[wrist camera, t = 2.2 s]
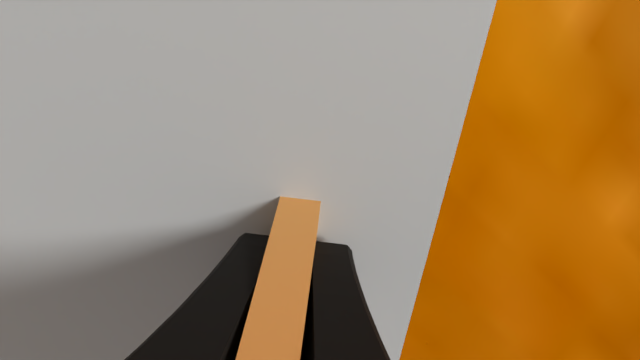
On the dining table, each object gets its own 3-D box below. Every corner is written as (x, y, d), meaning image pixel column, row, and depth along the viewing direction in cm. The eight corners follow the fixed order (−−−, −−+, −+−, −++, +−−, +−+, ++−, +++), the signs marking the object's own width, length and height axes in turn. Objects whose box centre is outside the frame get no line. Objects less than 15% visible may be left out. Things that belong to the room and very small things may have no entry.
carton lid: (369, 450, 14) (373, 655, 10) (-96, 391, 14) (-264, 571, 10) (532, -171, 6) (801, -291, 2) (-487, -277, 7) (-1693, -539, 3)
